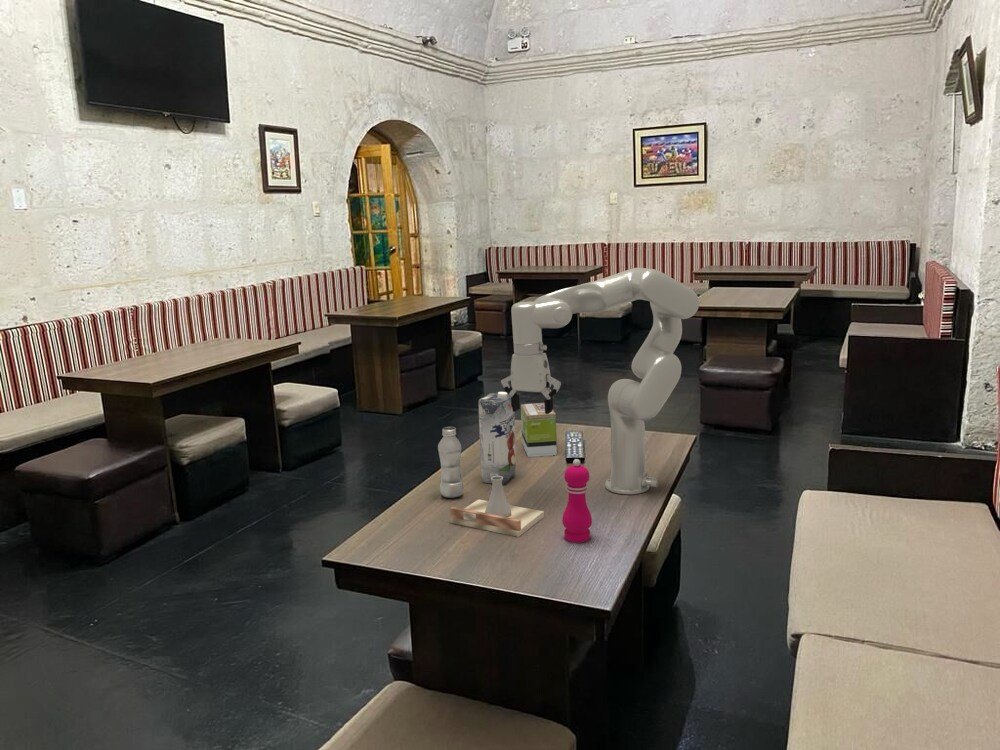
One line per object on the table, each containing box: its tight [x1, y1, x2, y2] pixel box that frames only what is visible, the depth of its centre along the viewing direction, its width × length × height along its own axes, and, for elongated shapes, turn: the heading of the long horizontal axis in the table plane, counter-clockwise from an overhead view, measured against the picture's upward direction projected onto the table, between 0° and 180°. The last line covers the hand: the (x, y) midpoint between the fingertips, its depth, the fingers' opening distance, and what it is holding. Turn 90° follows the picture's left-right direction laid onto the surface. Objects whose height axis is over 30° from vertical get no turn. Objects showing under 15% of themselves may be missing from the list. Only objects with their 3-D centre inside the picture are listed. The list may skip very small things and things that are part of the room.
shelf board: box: [449, 498, 545, 538], centre depth 195 cm, size 20×14×4 cm
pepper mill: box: [561, 458, 593, 544], centre depth 181 cm, size 7×7×20 cm
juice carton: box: [478, 391, 517, 486], centre depth 223 cm, size 9×10×27 cm
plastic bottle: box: [437, 426, 465, 499], centre depth 211 cm, size 6×7×20 cm
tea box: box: [520, 402, 558, 458], centre depth 251 cm, size 15×10×15 cm, turn 6°
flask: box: [485, 476, 511, 517], centre depth 194 cm, size 7×7×10 cm
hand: (532, 411), depth 201 cm, fingers open, 9 cm apart
